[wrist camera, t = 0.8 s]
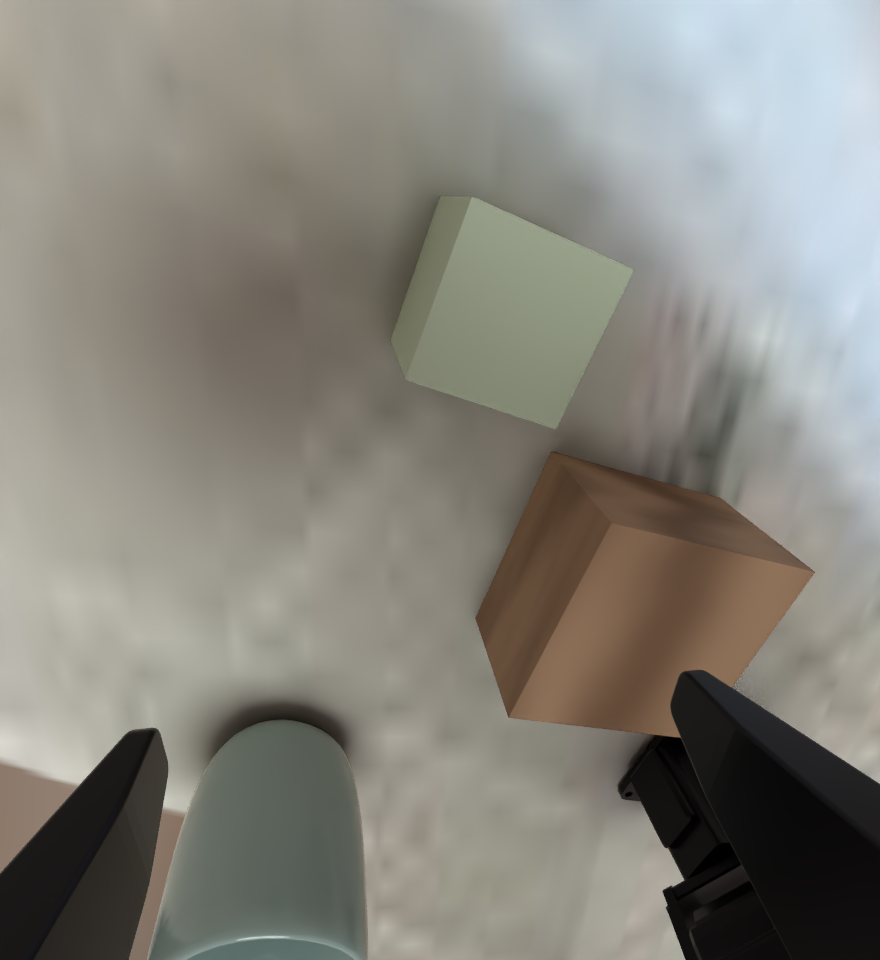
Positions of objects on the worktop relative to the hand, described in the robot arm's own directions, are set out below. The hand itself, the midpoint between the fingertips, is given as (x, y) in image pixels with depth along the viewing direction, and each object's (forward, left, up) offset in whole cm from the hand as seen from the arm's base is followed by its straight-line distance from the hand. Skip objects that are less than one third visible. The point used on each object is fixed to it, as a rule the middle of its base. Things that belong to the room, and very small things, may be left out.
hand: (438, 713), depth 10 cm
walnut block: (-12, +3, -14) cm, 18 cm away
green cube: (-2, -6, -14) cm, 15 cm away
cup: (-1, +18, -14) cm, 23 cm away
